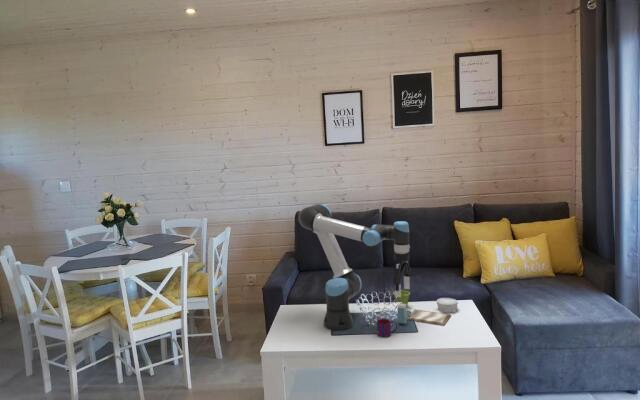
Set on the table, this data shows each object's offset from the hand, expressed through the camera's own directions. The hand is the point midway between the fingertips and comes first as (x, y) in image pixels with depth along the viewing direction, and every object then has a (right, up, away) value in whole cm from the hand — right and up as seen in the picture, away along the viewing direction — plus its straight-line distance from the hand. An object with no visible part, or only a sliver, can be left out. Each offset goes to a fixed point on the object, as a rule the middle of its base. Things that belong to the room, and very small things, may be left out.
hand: (402, 292), depth 226 cm
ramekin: (+28, -14, +18) cm, 36 cm away
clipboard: (+15, -15, +8) cm, 23 cm away
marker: (0, -16, +2) cm, 17 cm away
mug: (-9, -19, -10) cm, 23 cm away
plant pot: (+4, -14, +25) cm, 29 cm away
